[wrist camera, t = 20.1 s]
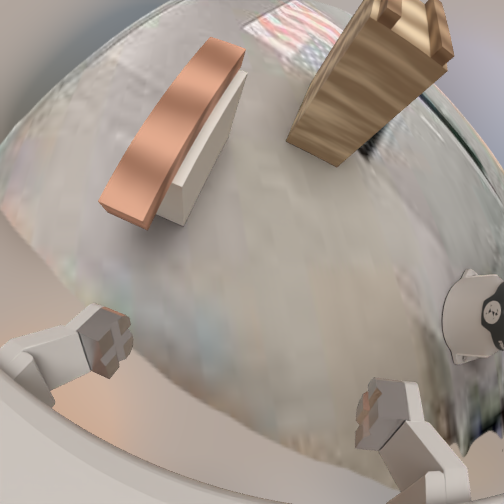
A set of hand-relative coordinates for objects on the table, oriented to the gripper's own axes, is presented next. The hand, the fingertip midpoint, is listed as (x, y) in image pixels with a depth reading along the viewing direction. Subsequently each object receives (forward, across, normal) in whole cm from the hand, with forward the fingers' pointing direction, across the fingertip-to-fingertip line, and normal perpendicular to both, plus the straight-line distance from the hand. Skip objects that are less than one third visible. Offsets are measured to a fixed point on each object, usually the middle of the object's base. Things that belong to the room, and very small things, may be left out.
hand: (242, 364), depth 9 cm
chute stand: (+46, 0, -8) cm, 47 cm away
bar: (+19, +12, -6) cm, 23 cm away
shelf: (+32, +17, +1) cm, 36 cm away
